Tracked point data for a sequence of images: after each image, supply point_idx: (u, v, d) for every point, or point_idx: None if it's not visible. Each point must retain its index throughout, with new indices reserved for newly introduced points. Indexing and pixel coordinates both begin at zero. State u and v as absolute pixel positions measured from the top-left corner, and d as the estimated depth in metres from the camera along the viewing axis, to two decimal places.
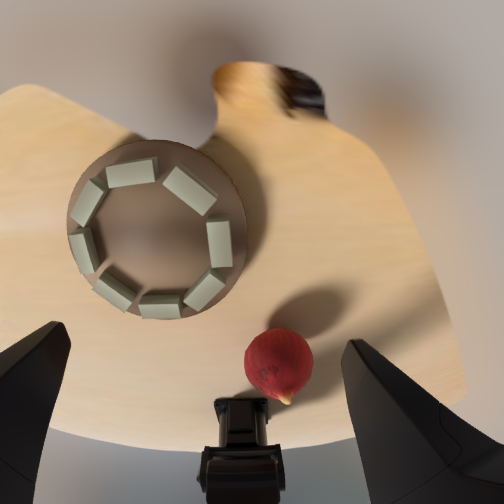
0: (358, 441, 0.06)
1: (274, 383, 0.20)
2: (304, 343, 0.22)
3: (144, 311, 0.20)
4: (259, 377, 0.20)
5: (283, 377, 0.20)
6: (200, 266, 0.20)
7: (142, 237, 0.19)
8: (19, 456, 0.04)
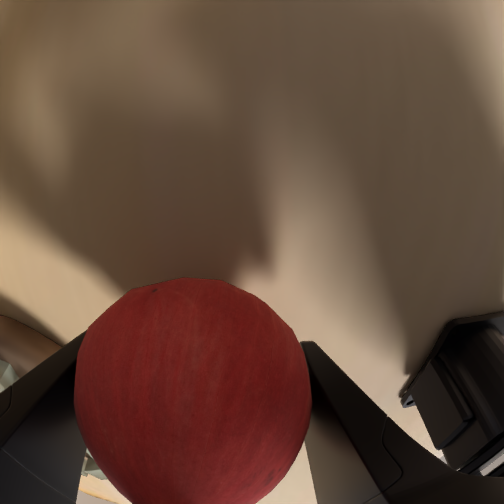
0: (307, 449, 0.06)
1: None
2: (98, 321, 0.05)
3: None
4: None
5: (111, 482, 0.04)
6: None
7: None
8: (59, 475, 0.04)
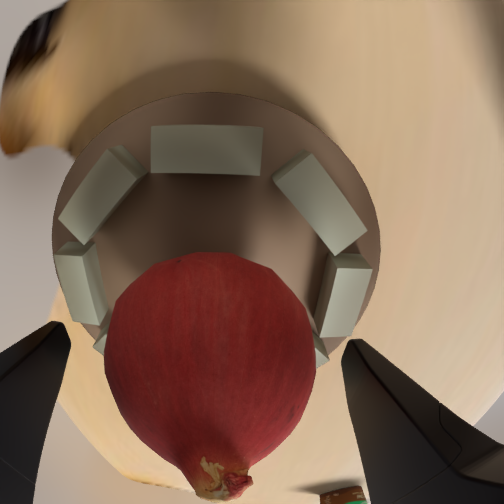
0: (358, 441, 0.06)
1: (170, 462, 0.05)
2: (126, 293, 0.06)
3: (336, 330, 0.11)
4: None
5: (147, 443, 0.05)
6: (270, 197, 0.10)
7: None
8: (18, 456, 0.04)
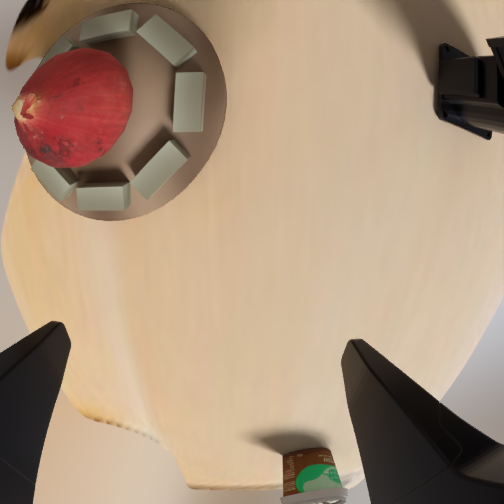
0: (358, 441, 0.06)
1: (18, 130, 0.07)
2: None
3: (185, 125, 0.13)
4: (31, 153, 0.09)
5: (15, 116, 0.07)
6: (142, 48, 0.12)
7: None
8: (18, 457, 0.04)
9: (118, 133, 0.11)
